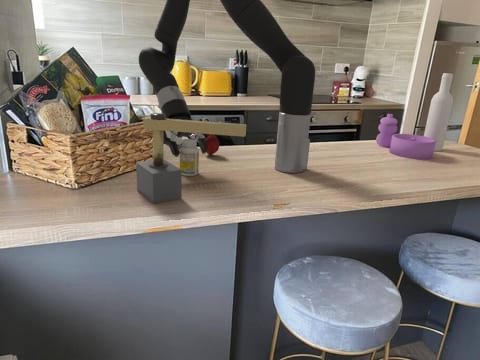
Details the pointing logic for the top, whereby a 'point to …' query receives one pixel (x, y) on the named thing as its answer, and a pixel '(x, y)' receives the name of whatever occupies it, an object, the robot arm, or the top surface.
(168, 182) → the block
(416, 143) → the container set
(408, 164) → the top surface
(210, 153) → the red apple
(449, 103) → the bottle
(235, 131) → the tan latch lever
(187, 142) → the supplement bottle
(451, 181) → the top surface
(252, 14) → the robot arm
